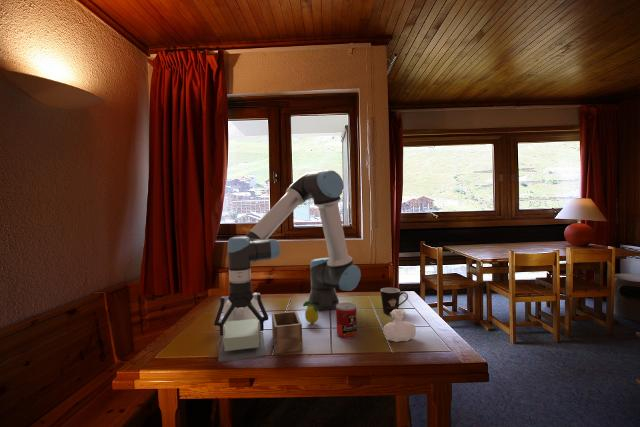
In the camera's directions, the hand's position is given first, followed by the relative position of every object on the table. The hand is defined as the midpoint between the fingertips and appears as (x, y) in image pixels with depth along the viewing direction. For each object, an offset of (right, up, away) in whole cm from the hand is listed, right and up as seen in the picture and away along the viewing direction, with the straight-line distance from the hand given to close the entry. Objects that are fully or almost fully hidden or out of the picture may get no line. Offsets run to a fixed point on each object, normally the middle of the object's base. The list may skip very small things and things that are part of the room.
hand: (242, 342), depth 118 cm
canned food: (+38, 0, +8) cm, 39 cm away
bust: (+56, 0, +3) cm, 56 cm away
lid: (0, +1, 0) cm, 1 cm away
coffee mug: (+60, +1, +30) cm, 68 cm away
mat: (0, -1, 0) cm, 1 cm away
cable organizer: (-5, -1, +22) cm, 23 cm away
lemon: (+24, 0, +19) cm, 31 cm away
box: (+16, -1, +1) cm, 16 cm away
